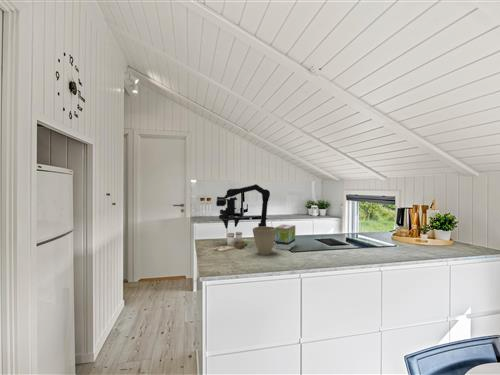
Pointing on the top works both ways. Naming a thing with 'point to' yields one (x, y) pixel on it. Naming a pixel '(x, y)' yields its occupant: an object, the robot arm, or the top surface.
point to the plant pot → (264, 239)
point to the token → (239, 244)
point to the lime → (245, 241)
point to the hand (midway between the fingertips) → (231, 227)
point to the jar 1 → (230, 240)
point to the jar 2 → (238, 236)
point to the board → (223, 248)
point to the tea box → (285, 237)
